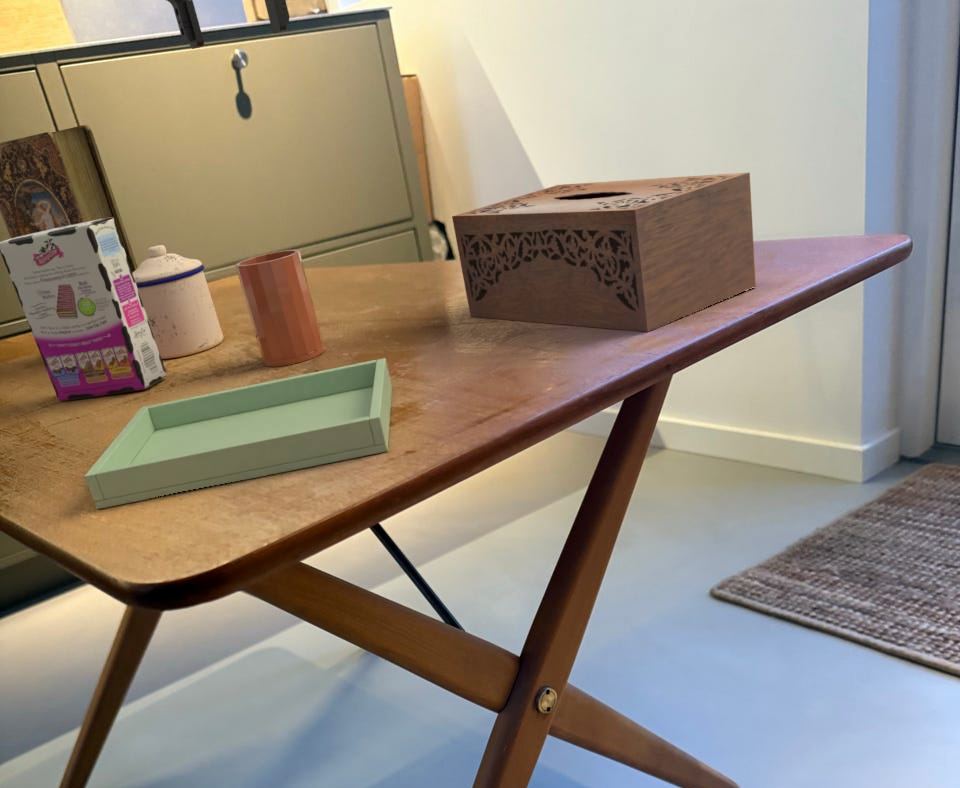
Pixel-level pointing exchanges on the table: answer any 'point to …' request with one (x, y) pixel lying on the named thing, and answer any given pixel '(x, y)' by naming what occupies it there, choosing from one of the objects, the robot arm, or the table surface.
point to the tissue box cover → (610, 251)
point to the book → (56, 184)
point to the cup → (280, 307)
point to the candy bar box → (84, 309)
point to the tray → (246, 434)
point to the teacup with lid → (177, 303)
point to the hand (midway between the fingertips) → (239, 39)
